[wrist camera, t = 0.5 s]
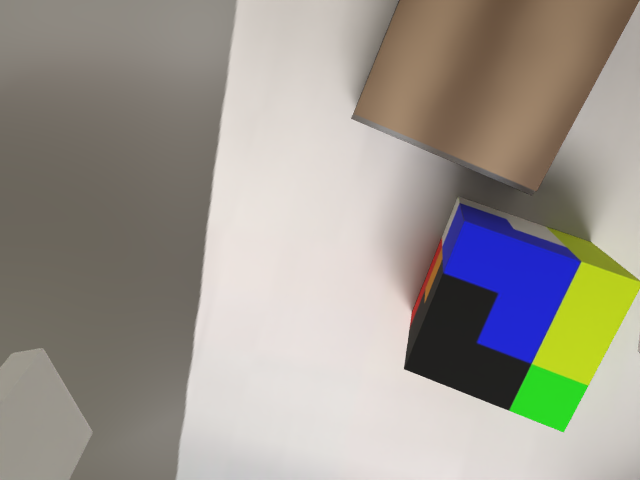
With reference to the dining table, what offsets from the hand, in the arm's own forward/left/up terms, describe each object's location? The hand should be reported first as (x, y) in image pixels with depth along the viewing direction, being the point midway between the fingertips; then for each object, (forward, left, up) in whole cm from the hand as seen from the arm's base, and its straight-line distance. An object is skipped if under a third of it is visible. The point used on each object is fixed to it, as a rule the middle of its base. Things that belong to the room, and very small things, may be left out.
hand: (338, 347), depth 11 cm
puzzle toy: (-9, +4, -30) cm, 31 cm away
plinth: (-1, -10, -29) cm, 31 cm away
